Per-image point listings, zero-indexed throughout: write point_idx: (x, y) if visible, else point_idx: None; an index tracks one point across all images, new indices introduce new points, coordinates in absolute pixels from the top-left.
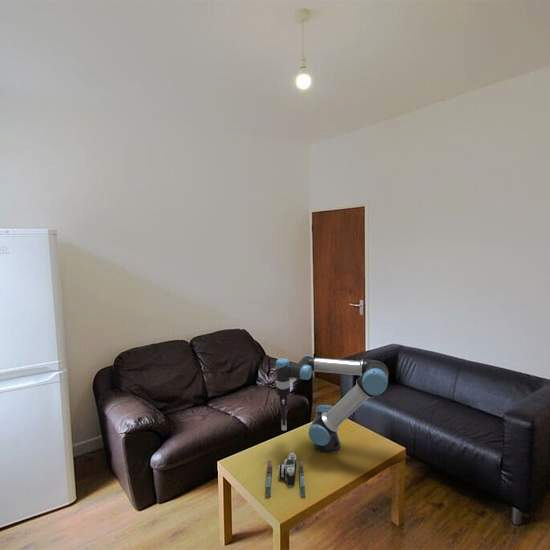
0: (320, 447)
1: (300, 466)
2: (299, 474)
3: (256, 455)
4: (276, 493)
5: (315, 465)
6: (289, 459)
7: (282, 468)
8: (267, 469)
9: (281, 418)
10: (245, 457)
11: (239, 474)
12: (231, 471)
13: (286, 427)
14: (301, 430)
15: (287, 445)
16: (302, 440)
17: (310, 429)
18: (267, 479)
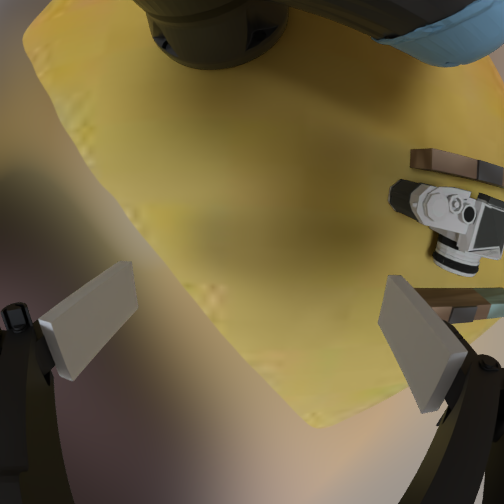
0: (274, 32)
1: (472, 171)
2: (478, 180)
3: (284, 348)
4: (497, 270)
5: (386, 85)
6: (498, 236)
7: (478, 260)
8: (461, 321)
9: (501, 420)
10: (293, 382)
11: (386, 387)
12: (363, 407)
13: (414, 289)
14: (85, 138)
15: (207, 206)
16: (164, 126)
17: (501, 43)
18: (496, 314)
